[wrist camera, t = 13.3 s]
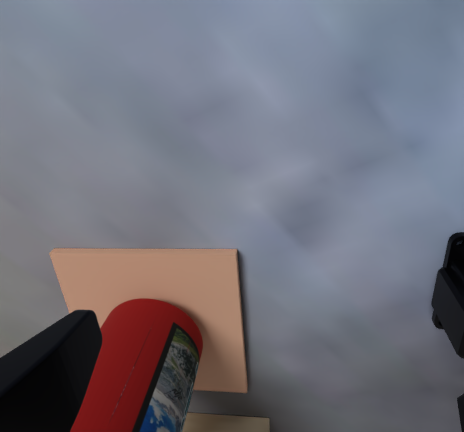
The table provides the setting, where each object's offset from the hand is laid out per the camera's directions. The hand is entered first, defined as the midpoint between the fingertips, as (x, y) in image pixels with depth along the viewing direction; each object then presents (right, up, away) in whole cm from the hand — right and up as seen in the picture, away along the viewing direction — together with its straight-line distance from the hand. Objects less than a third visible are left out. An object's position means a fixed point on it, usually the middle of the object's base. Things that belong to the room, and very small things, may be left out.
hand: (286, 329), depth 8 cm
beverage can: (-6, -5, +18) cm, 20 cm away
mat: (-6, -5, +18) cm, 20 cm away
